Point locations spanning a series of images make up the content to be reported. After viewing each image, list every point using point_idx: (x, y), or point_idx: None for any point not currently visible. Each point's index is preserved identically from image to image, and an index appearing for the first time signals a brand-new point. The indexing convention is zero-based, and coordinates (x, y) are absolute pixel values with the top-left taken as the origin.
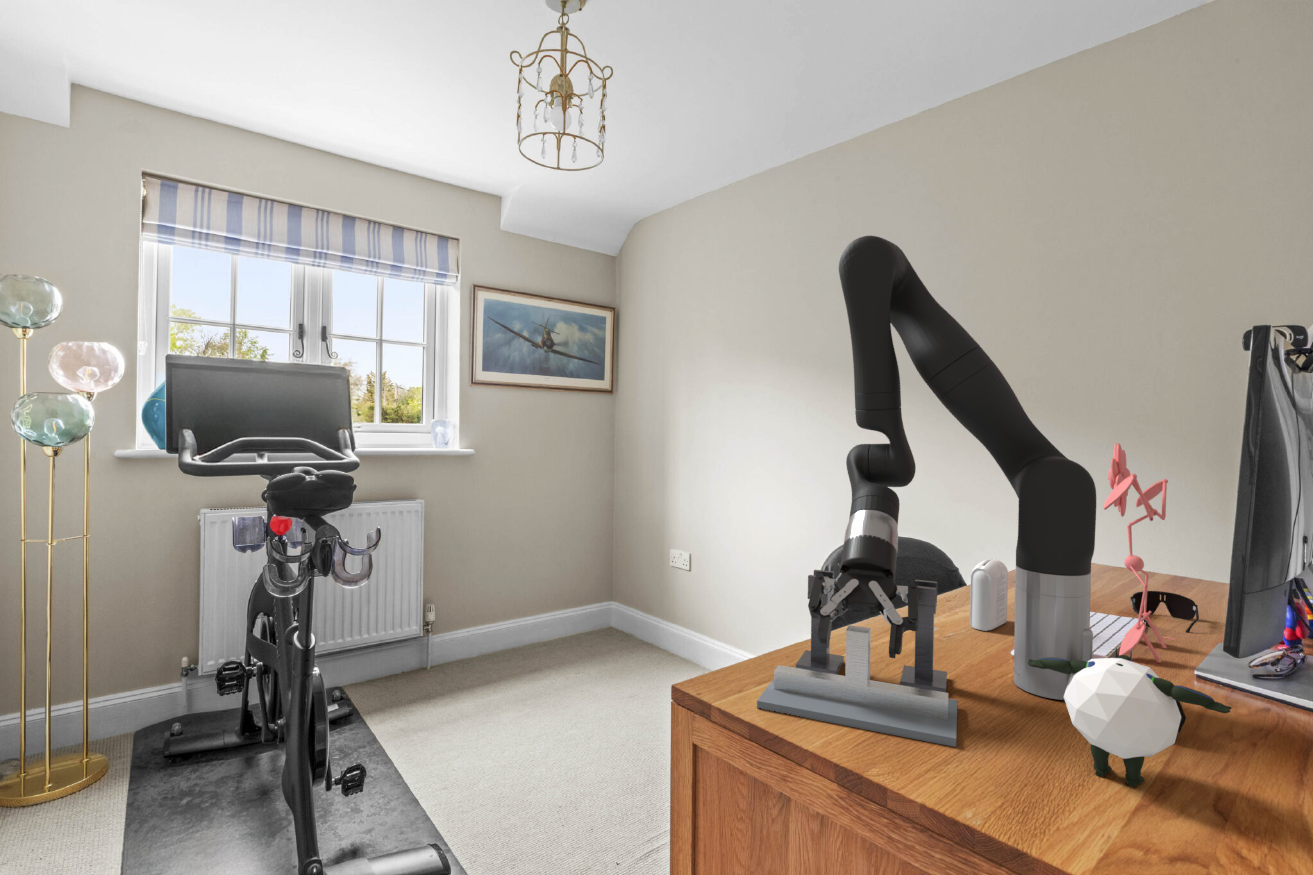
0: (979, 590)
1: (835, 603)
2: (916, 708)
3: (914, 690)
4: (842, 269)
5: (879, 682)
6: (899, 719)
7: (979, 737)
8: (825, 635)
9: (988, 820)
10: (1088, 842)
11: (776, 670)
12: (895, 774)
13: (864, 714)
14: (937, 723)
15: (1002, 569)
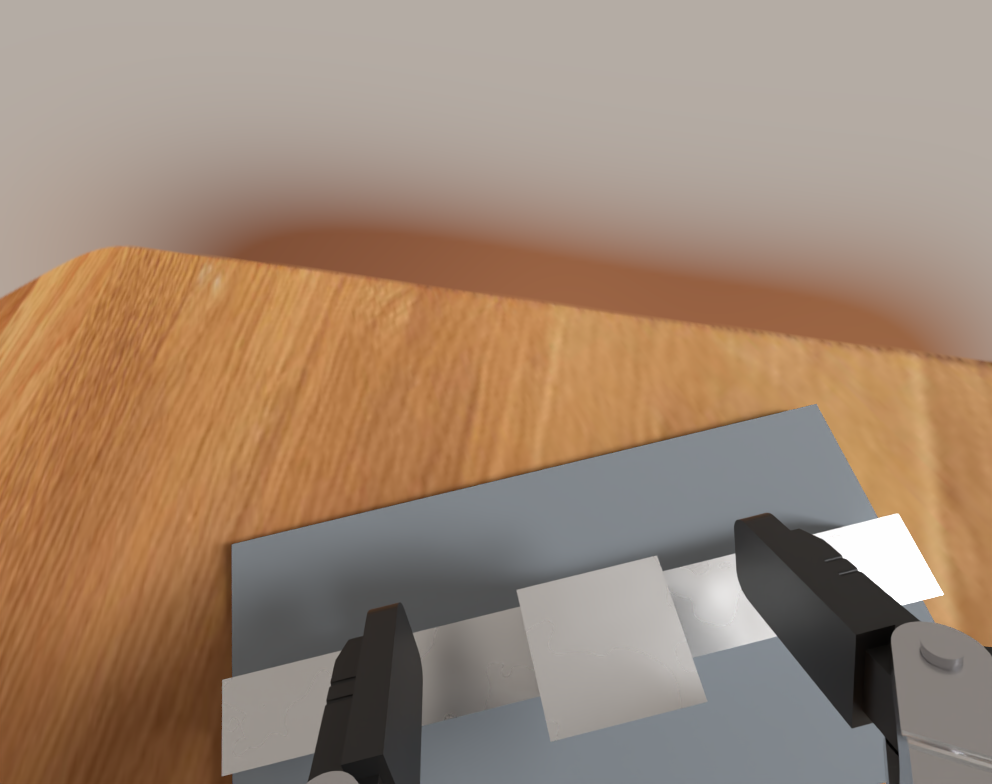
0: None
1: (937, 742)
2: None
3: None
4: None
5: (500, 692)
6: (401, 568)
7: (180, 670)
8: (766, 533)
9: (185, 287)
10: (30, 325)
11: (894, 523)
12: (360, 326)
13: (505, 529)
14: (290, 622)
15: None
